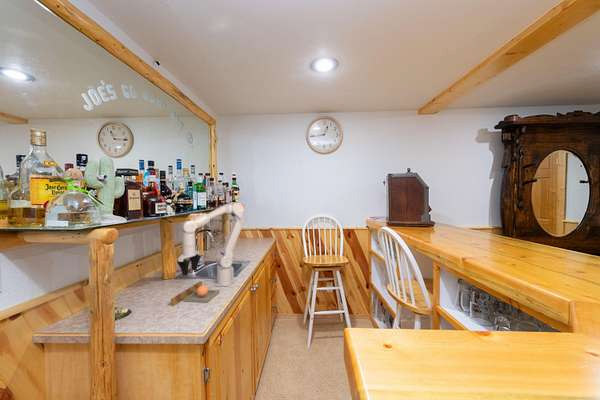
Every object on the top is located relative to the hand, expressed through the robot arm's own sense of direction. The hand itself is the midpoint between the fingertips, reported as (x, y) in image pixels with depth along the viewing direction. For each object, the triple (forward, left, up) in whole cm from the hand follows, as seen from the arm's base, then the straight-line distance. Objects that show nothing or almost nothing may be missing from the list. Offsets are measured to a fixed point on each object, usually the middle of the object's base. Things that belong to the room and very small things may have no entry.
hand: (189, 272), depth 122 cm
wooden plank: (+5, +2, -9) cm, 11 cm away
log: (+27, -16, -10) cm, 33 cm away
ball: (+6, +10, -6) cm, 13 cm away
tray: (+6, +10, -9) cm, 15 cm away
